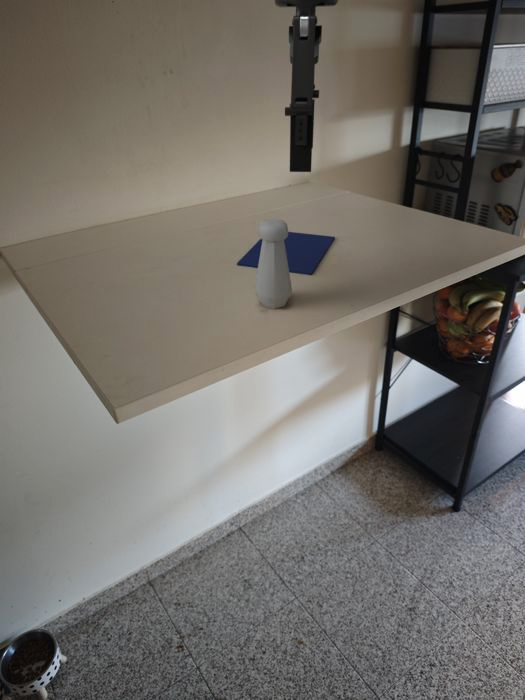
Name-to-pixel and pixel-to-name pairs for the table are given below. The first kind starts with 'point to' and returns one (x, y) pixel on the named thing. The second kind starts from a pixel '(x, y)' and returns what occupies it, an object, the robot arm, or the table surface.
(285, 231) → the salt shaker
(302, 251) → the cloth
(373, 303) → the table surface
